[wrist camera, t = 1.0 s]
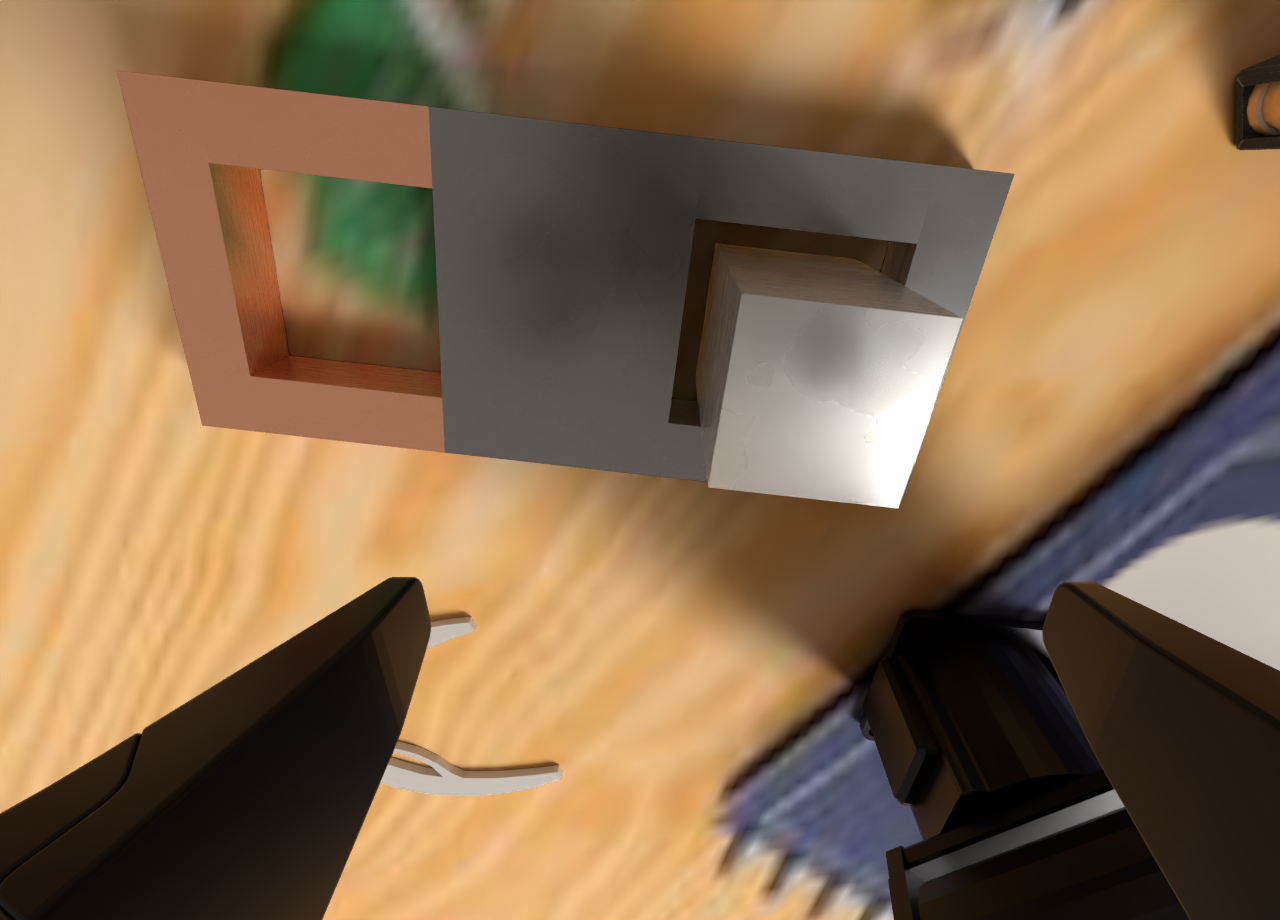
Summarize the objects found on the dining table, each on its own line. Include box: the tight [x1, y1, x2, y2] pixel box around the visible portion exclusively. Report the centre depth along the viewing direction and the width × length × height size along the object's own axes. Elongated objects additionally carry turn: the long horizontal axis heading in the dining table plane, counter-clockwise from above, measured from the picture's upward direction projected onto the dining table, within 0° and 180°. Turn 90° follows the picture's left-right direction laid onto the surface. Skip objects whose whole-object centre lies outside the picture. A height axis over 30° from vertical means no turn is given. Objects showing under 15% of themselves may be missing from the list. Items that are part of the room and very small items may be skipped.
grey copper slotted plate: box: [117, 71, 1014, 503], centre depth 17 cm, size 21×9×2 cm, turn 84°
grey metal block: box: [695, 243, 963, 508], centre depth 15 cm, size 4×4×7 cm
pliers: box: [380, 616, 563, 796], centre depth 27 cm, size 10×2×15 cm
